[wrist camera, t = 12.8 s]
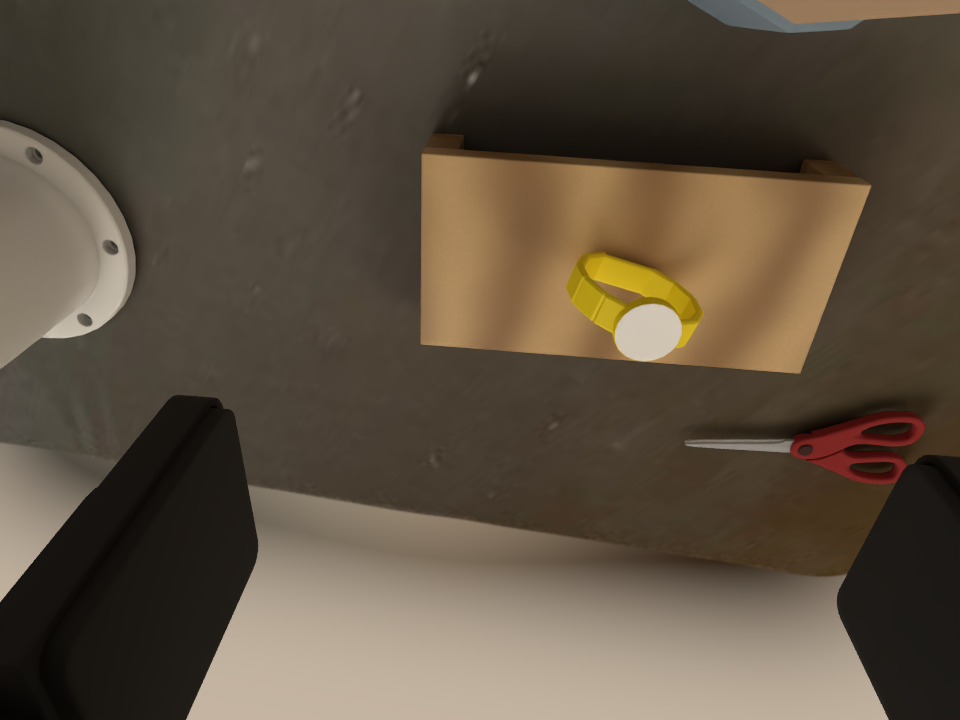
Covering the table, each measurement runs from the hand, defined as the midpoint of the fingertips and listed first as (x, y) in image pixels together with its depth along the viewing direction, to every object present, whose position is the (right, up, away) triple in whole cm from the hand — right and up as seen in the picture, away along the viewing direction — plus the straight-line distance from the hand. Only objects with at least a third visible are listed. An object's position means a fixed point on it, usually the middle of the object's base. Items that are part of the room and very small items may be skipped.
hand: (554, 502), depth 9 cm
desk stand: (+6, +8, +25) cm, 27 cm away
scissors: (+19, -3, +32) cm, 37 cm away
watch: (+6, +6, +22) cm, 24 cm away
